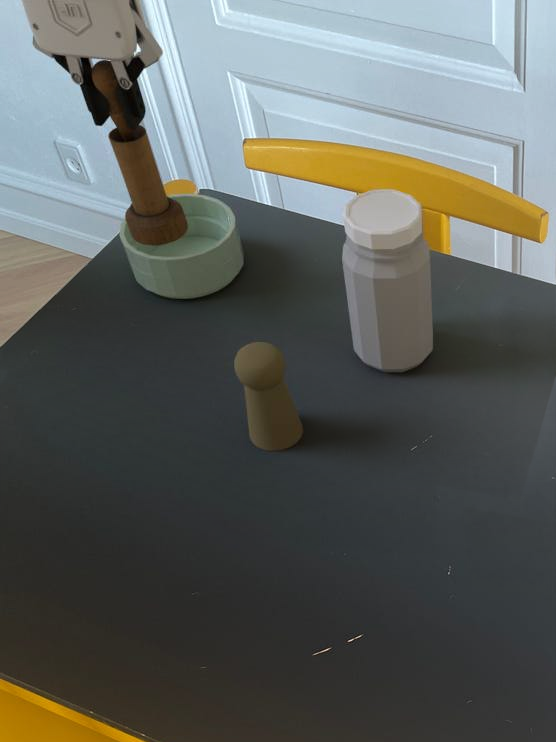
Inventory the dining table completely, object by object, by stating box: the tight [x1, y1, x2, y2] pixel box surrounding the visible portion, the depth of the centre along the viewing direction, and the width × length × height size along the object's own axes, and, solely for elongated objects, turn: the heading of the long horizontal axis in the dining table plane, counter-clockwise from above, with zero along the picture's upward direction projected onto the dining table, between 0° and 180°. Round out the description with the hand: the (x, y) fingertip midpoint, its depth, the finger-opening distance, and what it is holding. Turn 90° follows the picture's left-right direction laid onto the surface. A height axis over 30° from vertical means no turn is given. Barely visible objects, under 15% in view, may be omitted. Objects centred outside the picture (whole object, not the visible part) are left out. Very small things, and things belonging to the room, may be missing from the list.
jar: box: [341, 189, 434, 373], centre depth 100 cm, size 10×10×18 cm
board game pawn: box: [233, 341, 304, 452], centre depth 96 cm, size 6×6×11 cm
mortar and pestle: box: [92, 59, 188, 246], centre depth 97 cm, size 7×6×18 cm
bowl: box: [119, 193, 245, 300], centre depth 114 cm, size 14×14×6 cm
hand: (120, 119), depth 94 cm, fingers closed on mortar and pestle, 3 cm apart
